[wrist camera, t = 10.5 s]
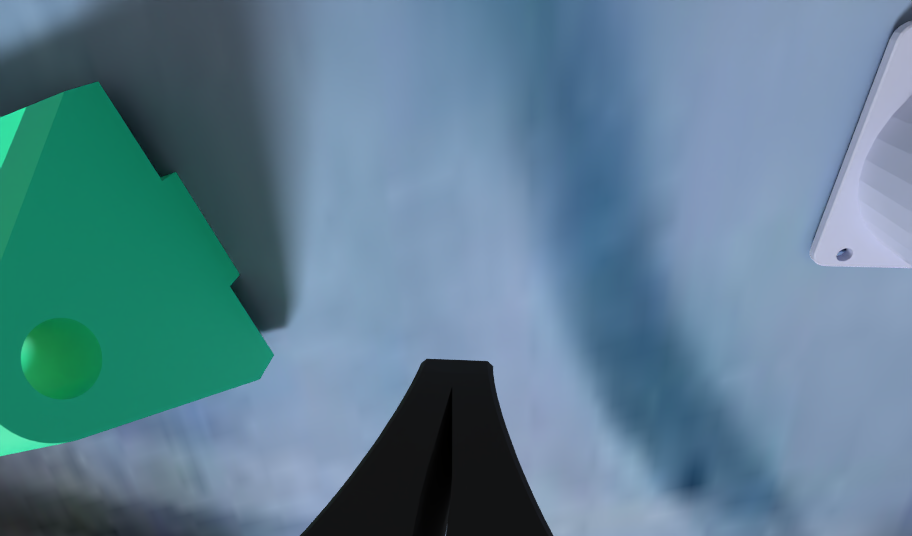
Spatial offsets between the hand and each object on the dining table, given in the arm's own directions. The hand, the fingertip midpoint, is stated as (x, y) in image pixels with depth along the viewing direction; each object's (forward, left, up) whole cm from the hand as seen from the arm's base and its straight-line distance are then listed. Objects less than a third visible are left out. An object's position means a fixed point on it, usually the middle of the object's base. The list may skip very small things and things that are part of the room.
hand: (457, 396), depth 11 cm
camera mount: (+14, +2, -10) cm, 18 cm away
